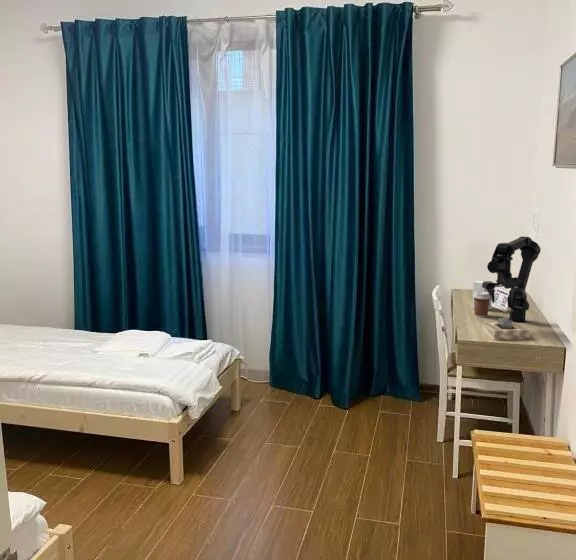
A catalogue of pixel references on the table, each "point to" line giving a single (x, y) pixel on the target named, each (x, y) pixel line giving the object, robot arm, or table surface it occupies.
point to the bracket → (504, 323)
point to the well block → (505, 331)
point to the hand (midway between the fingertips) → (502, 302)
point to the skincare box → (479, 290)
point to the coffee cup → (481, 303)
